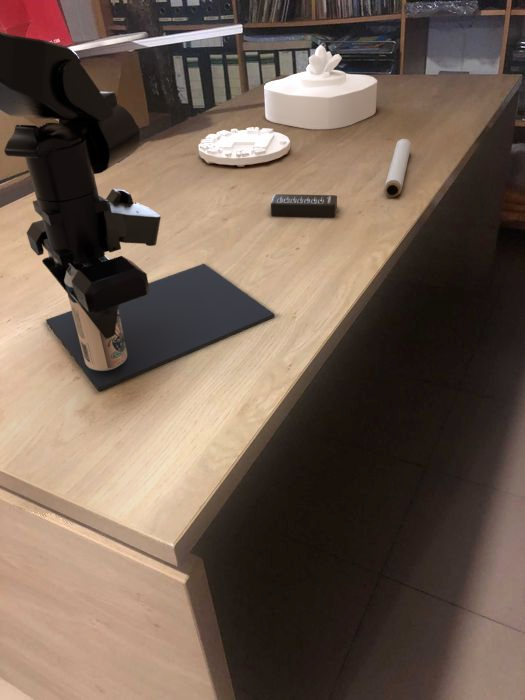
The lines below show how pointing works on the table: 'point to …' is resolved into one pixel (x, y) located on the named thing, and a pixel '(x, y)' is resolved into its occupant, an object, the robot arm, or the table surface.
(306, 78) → the white crystal-topped box
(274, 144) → the embossed medallion
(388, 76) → the table surface
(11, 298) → the table surface
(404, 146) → the tube
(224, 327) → the desk mat
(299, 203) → the multiport hub
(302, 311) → the table surface
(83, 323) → the beer can
